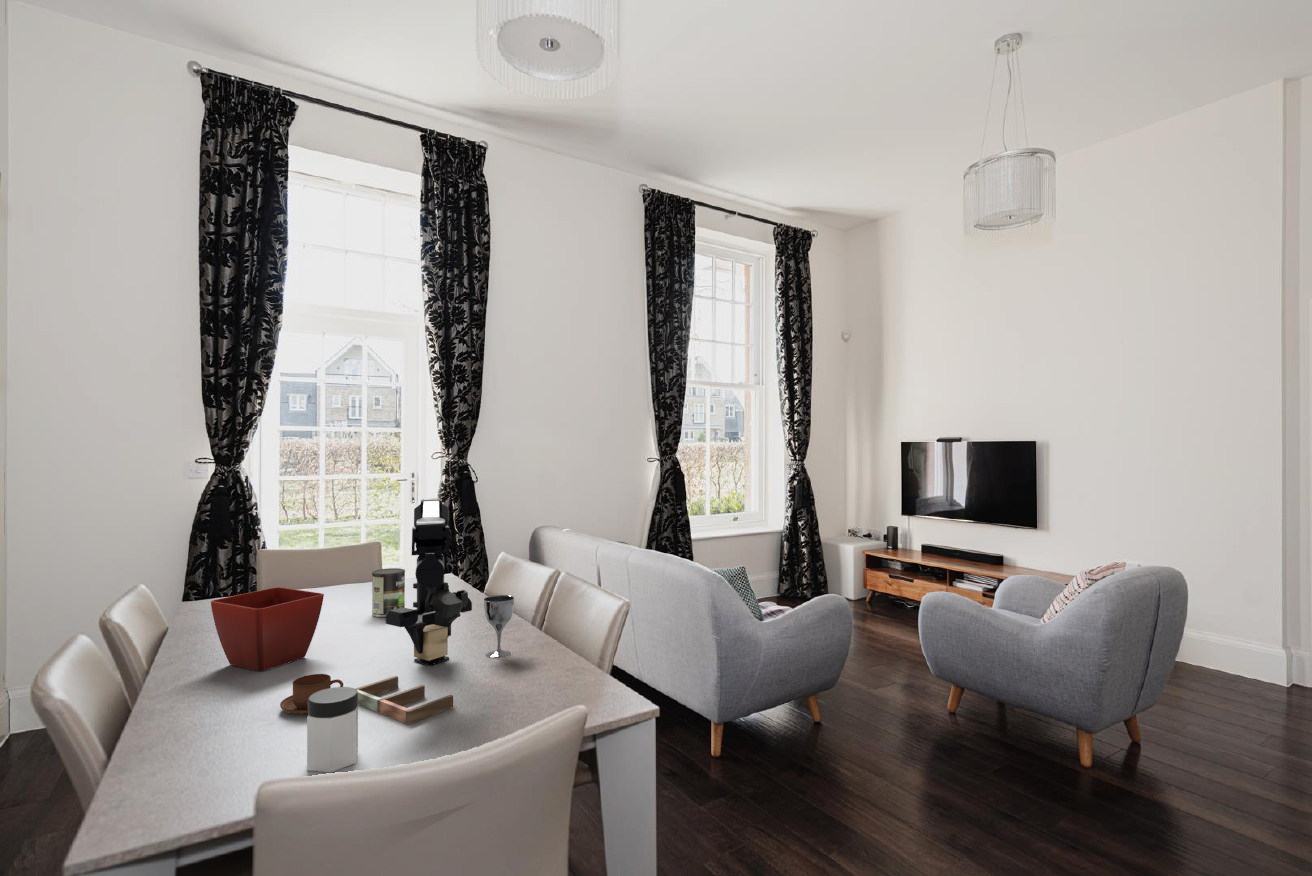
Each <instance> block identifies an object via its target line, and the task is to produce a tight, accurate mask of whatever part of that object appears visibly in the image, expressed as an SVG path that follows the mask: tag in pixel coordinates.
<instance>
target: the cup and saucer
mask: <svg viewBox="0 0 1312 876" xmlns="http://www.w3.org/2000/svg"><path fill="white" fill-rule="evenodd" d="M335 683H337V684H339V687H344V682H343V680H341V679H339V678H338V679H332V677H331V675H329V674H327V673H314V674H313V673H311V674H307V675H303V676H300V677H297V678H295V679H294V680H293V681H292V695H290V696H287V697H286V698H284V699H282V701H281V702H280V704H279V705H280V709H281V710H282V711H284V712H285V713H288V714H291V715H308V708H307V707H308V706H307V705H308V698H309V696H311V695H312V694H314V693H315V692H318V691H321V690H324V689H328V688H332V687H331V686H332V685H333V684H335Z"/></svg>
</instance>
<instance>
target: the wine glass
mask: <svg viewBox="0 0 1312 876" xmlns="http://www.w3.org/2000/svg"><path fill="white" fill-rule="evenodd" d="M514 608H515V596H513V595H508V594H494V595H489V596H485V597H484V598H483V610H484V616H485V617H484V618H485V619H486V621H487V622H488V624H489V625H490V626H491V628H492V629H493V630H494V631H495V634H496V640H497V649H494V650H491V651H487V652H486V653H485V657H486V656H487V658H490V659H502V658H501V657H504V658H507V657H506V656H508V657H511V656H512V655H511V652H512V651H511V650H508V649H502V648H501V641H502V633H503V631H504V629H505V628H506V626H507V625H508V624H509V622H510V621H511V620H512V617H513V613H514V610H515V609H514Z"/></svg>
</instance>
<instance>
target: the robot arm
mask: <svg viewBox="0 0 1312 876" xmlns="http://www.w3.org/2000/svg"><path fill="white" fill-rule="evenodd" d="M442 501H443V500H442V498H439V497H438V498H437V497H436V498H433V497H432V498H423V499H420V504H419V505H418V506H416V507H415V508H414V509H413V526H412V528H411V529H412V530H411V556H417V557H416V568H415V575H414V576H415V578H416V582H414V583H412V589H414V590H415V589H416V601H413V602H412V609H411V608H406V607H405V608H398V609H393V610H389V611H388V613H387V614H386V617H385V624H386V625H389V626H394V627H398V628H404V630H406V633H407V634H408V635H409V637H410V639H411V642H412V643H413V647H414V646H415V648H416V650H417V652H418V653H420V654H421V653H422V652H423V629H424V627H425V626H428V625H432V624H434V625H439V626H443V627H448V637H451V636H452V624H453V622H454V621H455V620H456V619H457V618H459V617H460V618H461V615H462V614H463V613H467V612H471V611H472V610H473V602H472V600H471V598H470V597H469V592H468V591H466V590H465V589H461V590H457V591H456V592H455V591H453V592H451V591H450V587H449V586H450V585H449V582H446V581H445V556H444V555H448V554H450V550H452V547H453V543H452V542H453V540H452V539H453V538H452V530H451V529H450V524H449V523H450V517H449V516H450V515H449V514H450V513H449V511H450V510H449V507H448V506H446V505H445V504H444V503H443V502H442ZM414 608H415V609H414ZM461 613H462V614H461ZM448 660H450V657H449V656H448V655H446V656H442V657H439V658H436V659H432V660H429V661H428V660H424V659H420V658H417V657H415V658H413V662H415V663H420V664H422V665H426V666H433V665H435V664H438V663H442V662H445V661H448Z"/></svg>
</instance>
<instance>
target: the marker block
mask: <svg viewBox="0 0 1312 876" xmlns="http://www.w3.org/2000/svg"><path fill="white" fill-rule="evenodd" d="M448 639H449V636H448V627H443V626H439V625H434V624H432V625H428V626H425V627H424V629H423V652H422V653H421V654H420V653H418V652H417V650H416V648H415V646H414V645H413V657H414V658H420V659H424V660H428V661H429V660H432V659H436V658H439V657H442V656H448V653H449V652H448V651H449V650H448V648H449V647H448V644H449V643H448V641H449V640H448Z"/></svg>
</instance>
